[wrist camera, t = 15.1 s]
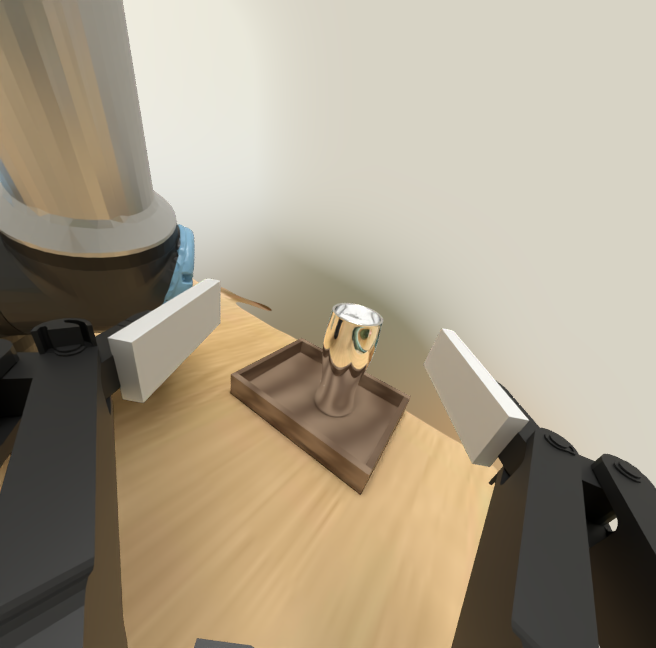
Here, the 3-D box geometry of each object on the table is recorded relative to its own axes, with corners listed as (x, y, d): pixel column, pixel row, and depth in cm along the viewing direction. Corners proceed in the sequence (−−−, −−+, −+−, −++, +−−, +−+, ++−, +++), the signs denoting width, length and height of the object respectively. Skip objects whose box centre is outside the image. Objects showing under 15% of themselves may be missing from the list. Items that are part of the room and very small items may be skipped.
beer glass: (336, 381, 42) (357, 300, 35) (365, 408, 37) (396, 321, 31) (302, 394, 38) (319, 304, 31) (330, 427, 33) (358, 330, 27)
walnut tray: (230, 393, 36) (231, 374, 35) (298, 352, 49) (301, 337, 47) (360, 494, 27) (369, 475, 26) (403, 412, 40) (410, 396, 38)
